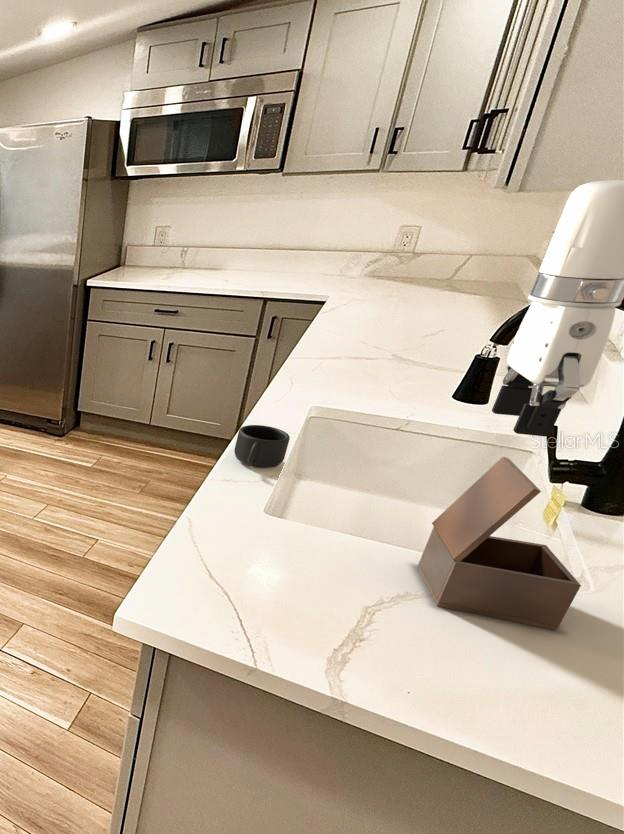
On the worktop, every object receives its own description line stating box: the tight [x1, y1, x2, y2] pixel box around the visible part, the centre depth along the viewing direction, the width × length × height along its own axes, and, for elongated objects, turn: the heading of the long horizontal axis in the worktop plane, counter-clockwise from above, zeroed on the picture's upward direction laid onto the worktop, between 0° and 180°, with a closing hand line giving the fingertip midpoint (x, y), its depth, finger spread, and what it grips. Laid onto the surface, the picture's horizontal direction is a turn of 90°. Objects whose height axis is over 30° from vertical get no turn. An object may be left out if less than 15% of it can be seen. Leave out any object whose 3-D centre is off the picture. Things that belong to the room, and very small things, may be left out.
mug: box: [233, 424, 291, 469], centre depth 131 cm, size 12×9×7 cm
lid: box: [431, 456, 542, 561], centre depth 87 cm, size 13×10×1 cm
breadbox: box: [416, 526, 582, 631], centre depth 90 cm, size 12×10×8 cm
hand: (518, 422), depth 82 cm, fingers open, 6 cm apart
